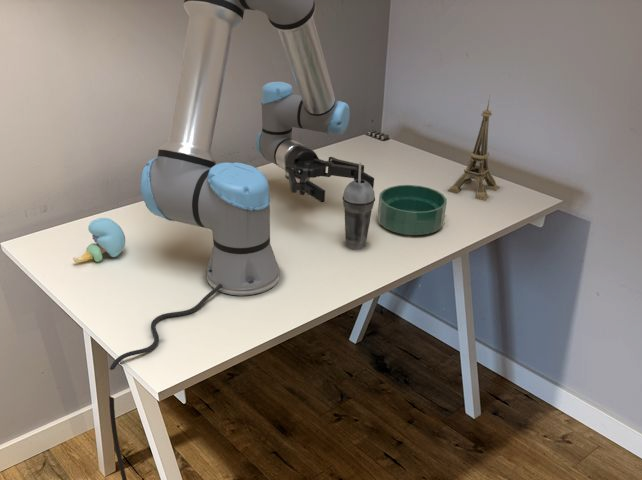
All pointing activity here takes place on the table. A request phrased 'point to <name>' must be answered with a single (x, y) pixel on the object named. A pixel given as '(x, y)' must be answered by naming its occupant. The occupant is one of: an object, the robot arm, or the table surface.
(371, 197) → the beverage cup
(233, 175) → the robot arm
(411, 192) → the green pet bowl
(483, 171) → the eiffel tower
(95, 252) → the brain model
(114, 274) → the table surface
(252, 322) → the table surface
